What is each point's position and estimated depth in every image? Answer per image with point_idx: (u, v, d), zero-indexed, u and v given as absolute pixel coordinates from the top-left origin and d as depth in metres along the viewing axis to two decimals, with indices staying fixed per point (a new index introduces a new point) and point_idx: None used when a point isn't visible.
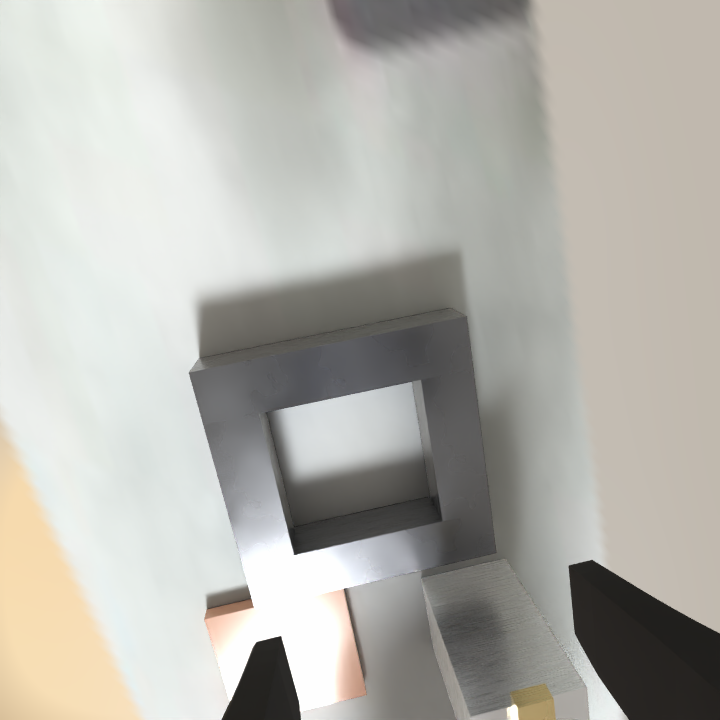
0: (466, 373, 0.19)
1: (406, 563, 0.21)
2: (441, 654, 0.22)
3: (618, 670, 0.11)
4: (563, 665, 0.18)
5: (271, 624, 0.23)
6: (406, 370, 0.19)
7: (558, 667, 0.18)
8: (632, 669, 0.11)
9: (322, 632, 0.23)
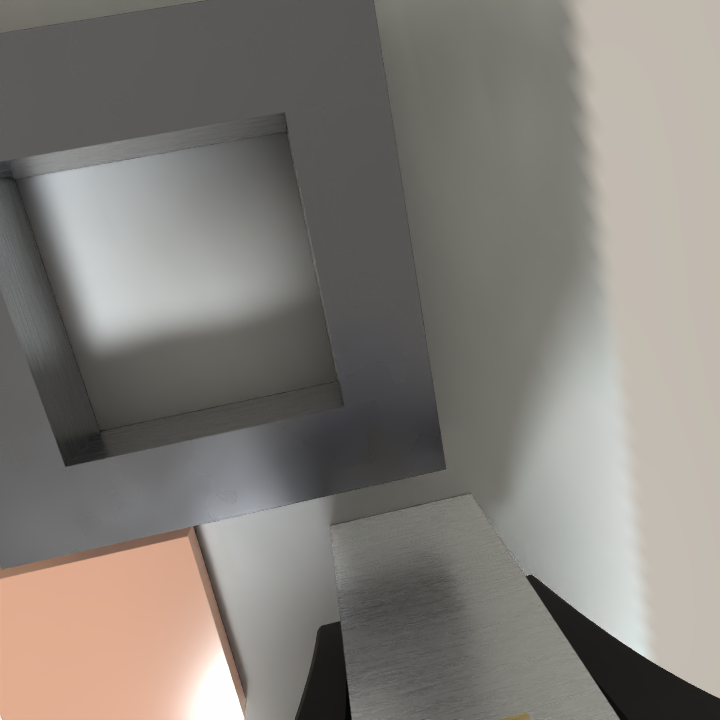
0: (375, 103, 0.10)
1: (282, 486, 0.12)
2: None
3: None
4: (567, 671, 0.09)
5: (66, 601, 0.13)
6: (254, 89, 0.10)
7: (557, 676, 0.09)
8: None
9: (158, 615, 0.14)
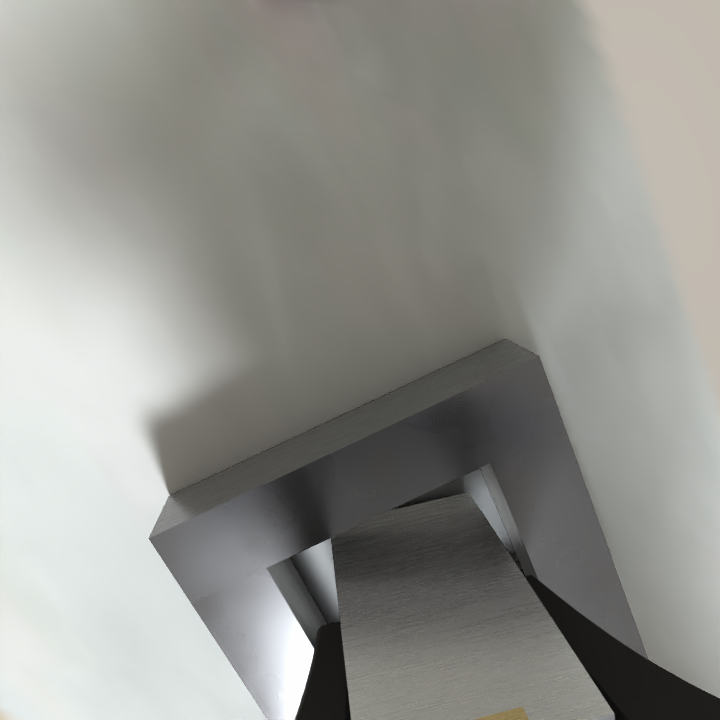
0: (556, 437, 0.13)
1: None
2: None
3: None
4: (563, 667, 0.09)
5: None
6: (466, 455, 0.13)
7: (553, 671, 0.09)
8: None
9: None
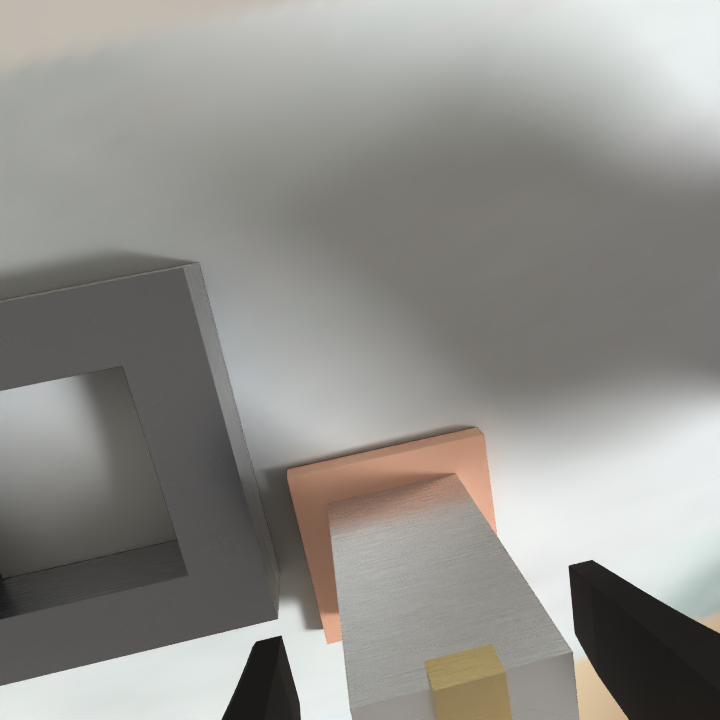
0: None
1: (204, 417, 0.13)
2: None
3: (618, 670, 0.11)
4: (531, 616, 0.10)
5: None
6: None
7: (522, 619, 0.10)
8: (632, 669, 0.11)
9: None
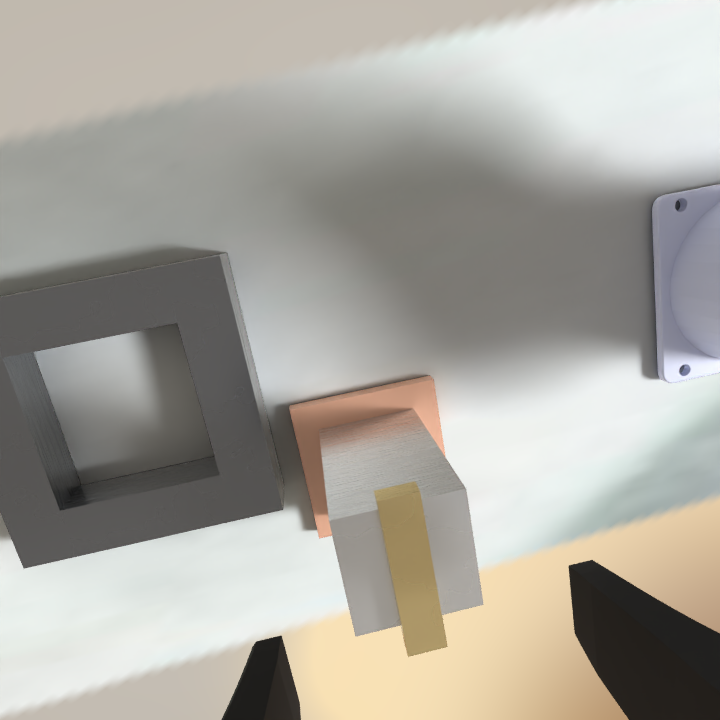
0: None
1: (232, 360, 0.19)
2: None
3: (618, 670, 0.11)
4: (446, 475, 0.16)
5: None
6: None
7: (440, 477, 0.16)
8: (632, 669, 0.11)
9: None
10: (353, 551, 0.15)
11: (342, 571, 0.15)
